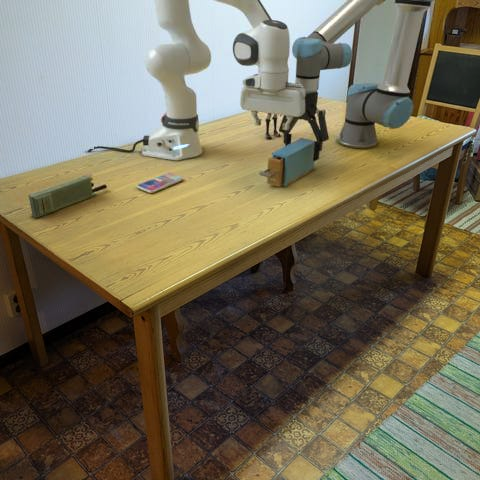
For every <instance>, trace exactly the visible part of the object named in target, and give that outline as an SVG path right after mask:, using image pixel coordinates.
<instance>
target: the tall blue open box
mask: <svg viewBox="0 0 480 480" xmlns="http://www.w3.org/2000/svg"><path fill="white" fill-rule="evenodd" d="M316 141H317V140H313V139H308V138H305V137H300V138H299V139H296V140H295V141H291V143H290V144H288V145H286V146H285V145H284V146H282V147H280V148H278V149H276V150H274V151H272V152H271V158H274V157H276V156H278V157H282V158H285V168H284V181H283V182H282V183H281V186H282V187H288V186H290V185H291V184H293V183H294V182H295V181H297V180H299V179H300V178H302V177H304V176H306V175H308V174H310V173H311V172H312V171H314V169H315V161H313V155H314V144H315V142H316Z"/></svg>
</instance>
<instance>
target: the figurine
mask: <svg viewBox="0 0 480 480" xmlns="http://www.w3.org/2000/svg"><path fill="white" fill-rule="evenodd" d="M272 115H273V116H272ZM279 117H282V115H279ZM272 121H273V132H272V133H273V136H276V137H281V133H280V132H278V130H277V125H278V114H272V113H267V115H266V118H265V128H266V129H265V134H264V135H265V138H266V139H267V140H272V136H271V134H270V123H271V122H272Z"/></svg>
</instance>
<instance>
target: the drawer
mask: <svg viewBox="0 0 480 480" xmlns="http://www.w3.org/2000/svg"><path fill="white" fill-rule="evenodd" d="M284 168H285V158H282V157H278V156H276V157H274V158H272V157H268V158H267V169H265V170H263V171H261V170H260V171H259V176H261V177H265V178H267V179H266V180H267V181H266V184H268V185H271V186H275V187H278V188H280V186H281V183H282V182H283V181H284Z"/></svg>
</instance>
